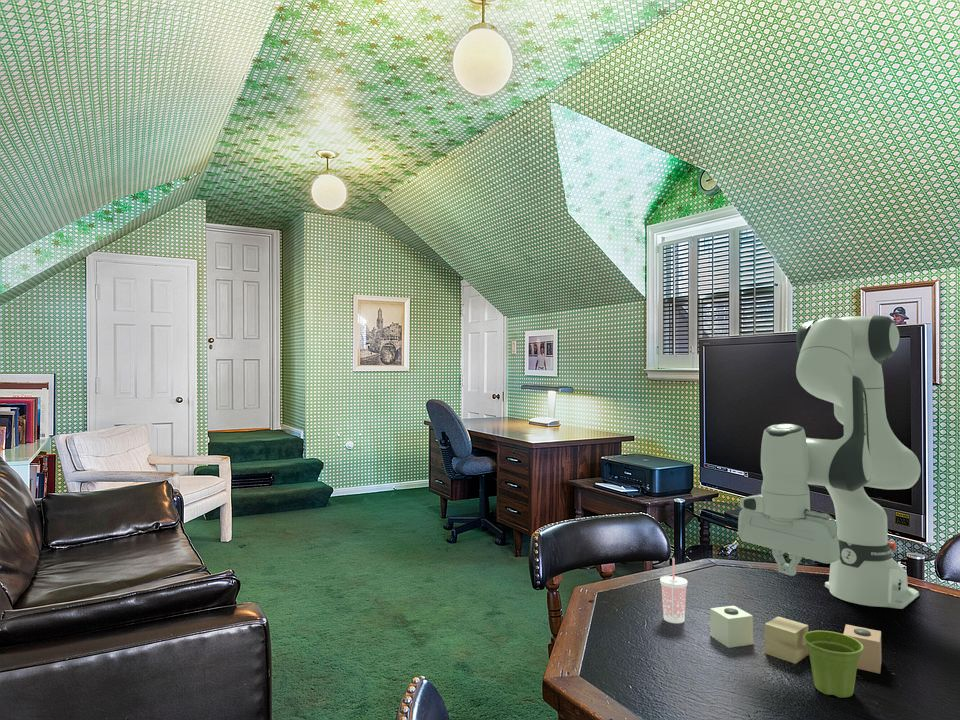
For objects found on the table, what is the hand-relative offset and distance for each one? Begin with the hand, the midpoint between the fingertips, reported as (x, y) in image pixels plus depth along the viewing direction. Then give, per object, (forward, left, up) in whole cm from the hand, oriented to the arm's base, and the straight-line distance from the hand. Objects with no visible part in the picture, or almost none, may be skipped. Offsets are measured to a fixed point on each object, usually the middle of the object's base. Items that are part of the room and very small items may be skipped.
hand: (787, 573), depth 127 cm
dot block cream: (+4, -10, -16) cm, 20 cm away
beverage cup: (+6, -24, -16) cm, 30 cm away
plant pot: (+6, +13, -16) cm, 22 cm away
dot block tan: (-9, +10, -16) cm, 21 cm away
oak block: (0, 0, -16) cm, 16 cm away
